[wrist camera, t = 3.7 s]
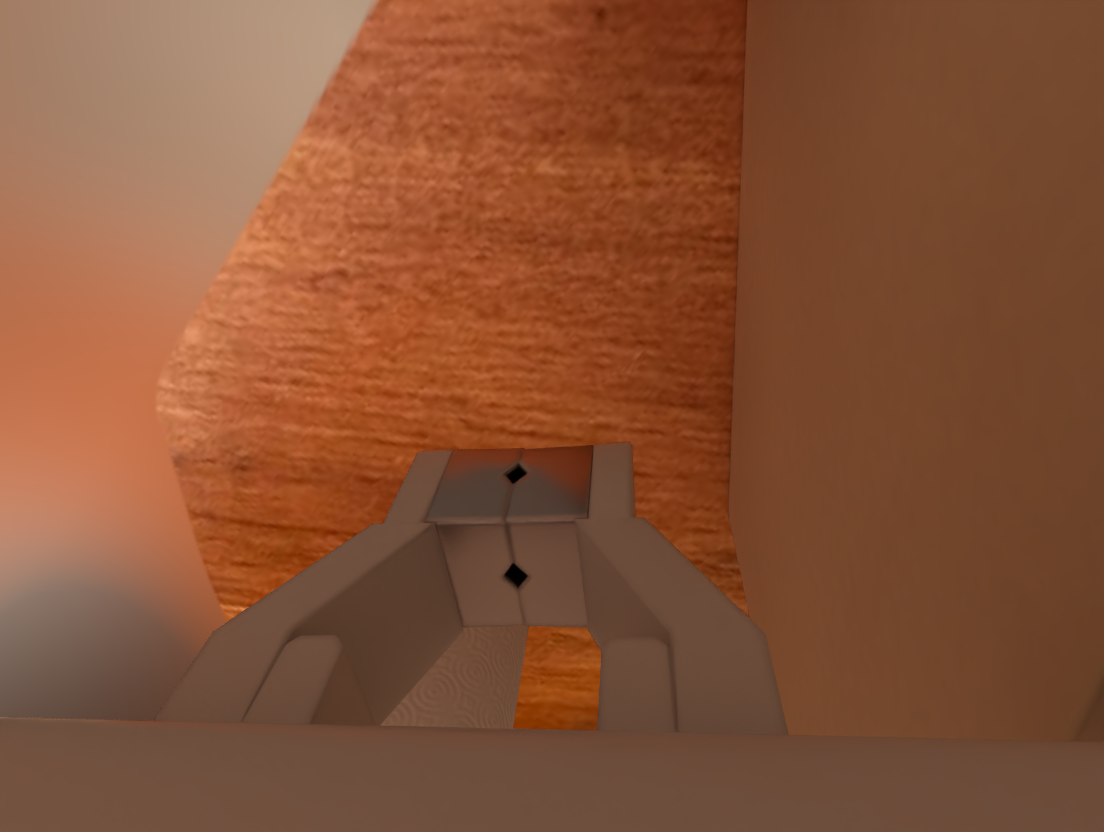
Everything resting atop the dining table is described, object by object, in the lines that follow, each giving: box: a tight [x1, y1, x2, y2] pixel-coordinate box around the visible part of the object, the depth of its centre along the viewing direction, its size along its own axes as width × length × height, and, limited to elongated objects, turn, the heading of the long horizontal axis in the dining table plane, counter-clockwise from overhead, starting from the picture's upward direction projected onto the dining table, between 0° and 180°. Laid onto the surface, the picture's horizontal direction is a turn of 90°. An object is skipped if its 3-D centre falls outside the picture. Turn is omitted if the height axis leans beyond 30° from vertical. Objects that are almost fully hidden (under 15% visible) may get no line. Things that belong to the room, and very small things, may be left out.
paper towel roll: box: [380, 625, 529, 729], centre depth 23 cm, size 7×6×21 cm
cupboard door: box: [728, 0, 1104, 742], centre depth 16 cm, size 7×24×20 cm, turn 6°
